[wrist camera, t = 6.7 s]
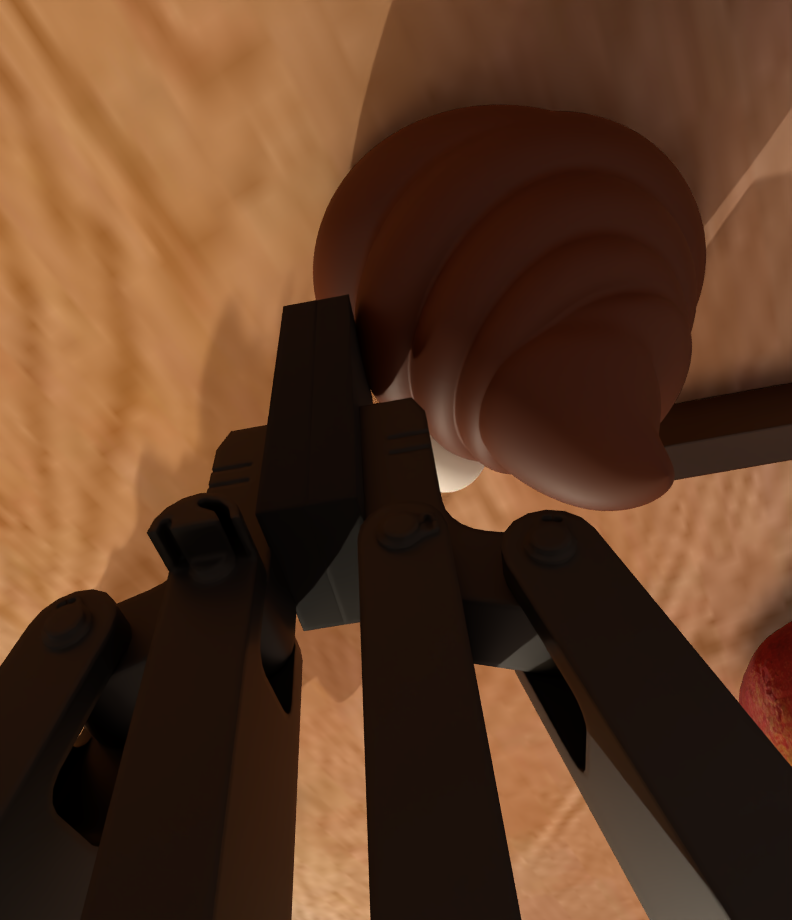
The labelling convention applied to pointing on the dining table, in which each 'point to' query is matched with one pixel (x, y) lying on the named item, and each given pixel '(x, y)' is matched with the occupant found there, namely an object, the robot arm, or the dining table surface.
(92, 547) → the dining table surface
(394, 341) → the poop emoji
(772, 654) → the fruit
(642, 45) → the dining table surface
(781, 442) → the dark brown u-shaped frame
